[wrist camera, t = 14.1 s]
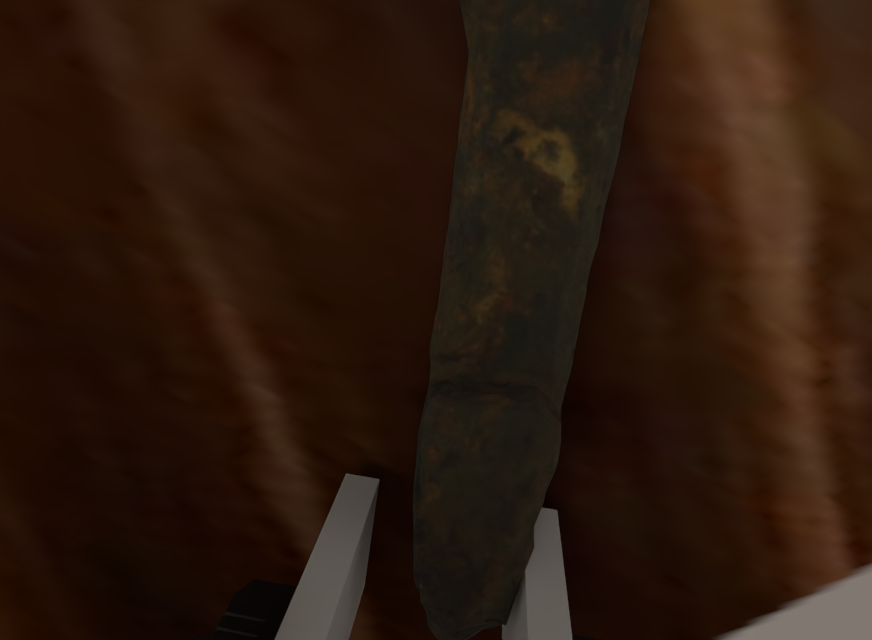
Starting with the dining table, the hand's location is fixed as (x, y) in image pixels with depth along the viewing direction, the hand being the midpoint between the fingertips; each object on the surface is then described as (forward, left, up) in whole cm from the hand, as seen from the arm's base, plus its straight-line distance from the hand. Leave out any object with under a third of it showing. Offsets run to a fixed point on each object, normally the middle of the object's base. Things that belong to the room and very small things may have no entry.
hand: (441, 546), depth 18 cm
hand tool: (+1, +8, -2) cm, 8 cm away
